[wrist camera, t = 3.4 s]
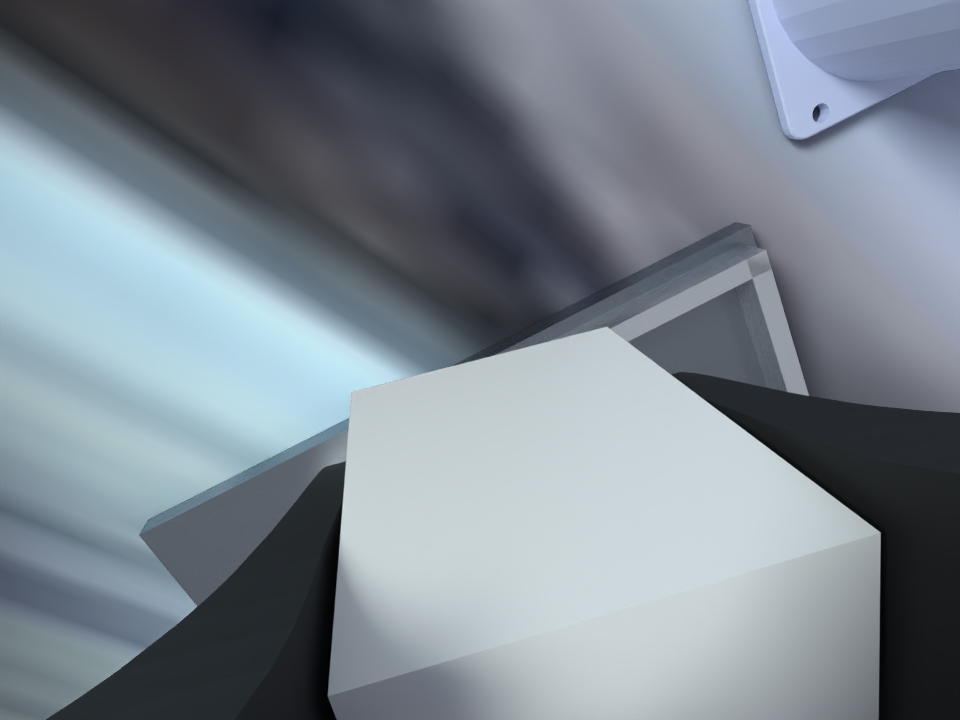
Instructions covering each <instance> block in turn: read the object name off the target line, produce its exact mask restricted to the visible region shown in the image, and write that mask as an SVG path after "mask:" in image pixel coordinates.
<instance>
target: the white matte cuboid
mask: <svg viewBox="0 0 960 720" xmlns="http://www.w3.org/2000/svg"><path fill="white" fill-rule="evenodd" d="M880 550H881V532H879V531H878V530H877V529H875V528H874V527H873V526H871V525H870V524H869V523H867V522H866V521H865V520H863V519H862V518H861V517H859V516H858V515H857V514H855V513H854V512H853V511H851V510H850V509H849V508H847V507H846V506H845V505H843V504H842V503H841V502H839V501H838V500H837V499H835V498H834V497H833V496H831V495H830V494H829V493H827V492H826V491H825V490H823V489H822V488H821V487H819V486H818V485H817V484H815V483H814V482H813V481H811V480H810V479H809V478H807V477H806V476H805V475H803V474H802V473H801V472H799V471H798V470H797V469H795V468H794V467H793V466H792V465H790V464H789V463H788V462H786V461H785V460H784V459H782V458H781V457H780V456H778V455H777V454H776V453H774V452H773V451H772V450H770V449H769V448H768V447H766V446H765V445H764V444H762V443H761V442H760V441H758V440H757V439H756V438H754V437H753V436H752V435H750V434H749V433H748V432H746V431H745V430H744V429H742V428H741V427H740V426H738V425H737V424H736V423H734V422H733V421H732V420H730V419H729V418H728V417H726V416H725V415H724V414H722V413H721V412H720V411H718V410H717V409H716V408H714V407H713V406H712V405H710V404H709V403H708V402H706V401H705V400H704V399H702V398H701V397H700V396H699V395H697V394H696V393H695V392H693V391H692V390H691V389H689V388H688V387H687V386H685V385H684V384H683V383H681V382H680V381H679V380H677V379H676V378H675V377H673V376H672V375H671V374H669V373H668V372H667V371H665V370H664V369H663V368H661V367H660V366H659V365H657V364H656V363H655V362H653V361H652V360H651V359H649V358H648V357H647V356H645V355H644V354H643V353H641V352H640V351H639V350H637V349H636V348H635V347H633V346H632V345H631V344H629V343H628V342H627V341H625V340H624V339H623V338H621V337H620V336H619V335H617V334H616V333H615V332H613V331H612V330H611V329H609V328H608V327H604V328H600V329H596V330H592V331H588V332H584V333H580V334H576V335H572V336H568V337H565V338H561V339H557V340H553V341H549V342H545V343H541V344H537V345H533V346H529V347H526V348H522V349H518V350H514V351H510V352H506V353H502V354H498V355H494V356H490V357H486V358H483V359H479V360H475V361H471V362H467V363H463V364H459V365H455V366H451V367H447V368H444V369H440V370H436V371H432V372H428V373H424V374H420V375H416V376H412V377H408V378H405V379H401V380H397V381H393V382H389V383H385V384H381V385H377V386H373V387H369V388H366V389H362V390H358V391H354V392H352V393H351V405H350V418H349V431H348V444H347V456H346V469H345V482H344V495H343V507H342V520H341V533H340V546H339V558H338V571H337V584H336V597H335V609H334V622H333V635H332V648H331V660H330V673H329V686H328V699H329V701H330V704H331V706H332V709H333V711H334V714H335V716H336V719H337V720H879V641H880Z"/></svg>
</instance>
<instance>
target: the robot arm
mask: <svg viewBox="0 0 960 720" xmlns="http://www.w3.org/2000/svg"><path fill="white" fill-rule="evenodd" d="M748 2H749V6H750V9H751V13H752V17H753V21H754V24H755V28H756V32H757V36H758V40H759V43H760V47H761V51H762V55H763V58H764V62H765V66H766V70H767V74H768V77H769V81H770V85H771V89H772V92H773V96H774V100H775V104H776V108H777V111H778V115H779V119H780V123H781V126H782V130H783V132H784V134H785V135H786V136H787V137H788V138H790V139H794V140H803V139H806V138H809V137H811V136H813V135H815V134H817V133H819V132H821V131H823V130H825V129H827V128H829V127H831V126H833V125H835V124H837V123H839V122H841V121H843V120H845V119H847V118H849V117H851V116H853V115H855V114H857V113H859V112H861V111H863V110H864V109H866V108H868V107H870V106H872V105H874V104H876V103H878V102H880V101H882V100H884V99H886V98H888V97H890V96H892V95H894V94H896V93H898V92H900V91H902V90H904V89H906V88H908V87H910V86H912V85H914V84H916V83H918V82H920V81H922V80H924V79H926V78H928V77H930V76H932V75H934V74H936V73H938V72H942V71H950V70H957V69H960V0H748ZM816 106H818V107H819V109H820V116H819V118H818V120H817V121H816V122H815V121H814V119H813V117H812V112H813V110H814V108H815V107H816ZM671 375H672V376H673V377H675V378H676V379H677V380H679V381H680V382H681V383H683V384H684V385H685V386H687V387H688V388H689V389H691V390H692V391H693V392H695V393H696V394H697V395H699V396H700V397H701V398H702V399H704V400H705V401H706V402H708V403H709V404H710V405H712V406H713V407H714V408H716V409H717V410H718V411H720V412H721V413H722V414H724V415H725V416H726V417H728V418H729V419H730V420H732V421H733V422H734V423H736V424H737V425H738V426H740V427H741V428H742V429H744V430H745V431H746V432H748V433H749V434H750V435H752V436H753V437H754V438H756V439H757V440H758V441H760V442H761V443H762V444H764V445H765V446H766V447H768V448H769V449H770V450H772V451H773V452H774V453H776V454H777V455H778V456H780V457H781V458H782V459H784V460H785V461H786V462H788V463H789V464H790V465H792V466H793V467H794V468H795V469H797V470H798V471H799V472H801V473H802V474H803V475H805V476H806V477H807V478H809V479H810V480H811V481H813V482H814V483H815V484H817V485H818V486H819V487H821V488H822V489H823V490H825V491H826V492H827V493H829V494H830V495H831V496H833V497H834V498H835V499H837V500H838V501H839V502H841V503H842V504H843V505H845V506H846V507H847V508H849V509H850V510H851V511H853V512H854V513H855V514H857V515H858V516H859V517H861V518H862V519H863V520H865V521H866V522H867V523H869V524H870V525H871V526H873V527H874V528H875V529H877V530H878V531H879V532H881V550H880V641H879V720H960V413H950V412H933V411H921V410H910V409H900V408H889V407H879V406H871V405H863V404H855V403H849V402H842V401H836V400H830V399H824V398H818V397H812V396H806V395H801V394H796V393H791V392H786V391H781V390H776V389H771V388H766V387H761V386H757V385H752V384H748V383H743V382H738V381H734V380H729V379H724V378H719V377H714V376H709V375H703V374H697V373H689V372H678V373H674V374H671ZM345 469H346V461H345V462H341V463H337V464H333V465H330V466H326V467H324V468H323V469H322V470H321V471H320V472H319V473H318V474H317V475H316V477H315V478H314V479H313V480H312V481H311V483H310V484H309V485H308V486H307V488H306V489H305V490H304V492H303V493H302V494H301V495H300V497H299V498H298V499H297V500H296V502H295V503H294V504H293V505H292V507H291V508H290V509H289V510H288V512H287V513H286V514H285V515H284V516H283V518H282V519H281V520H280V521H279V523H278V524H277V525H276V526H275V528H274V529H273V530H272V531H271V532H270V533H269V534H268V535H267V537H266V538H265V539H264V540H263V541H262V542H261V543H260V544H259V545H258V547H257V548H256V549H255V550H254V551H253V552H252V553H251V554H250V555H249V556H248V558H247V559H246V560H245V561H244V562H243V563H242V564H241V565H240V566H239V567H238V569H237V570H236V571H235V572H234V573H233V574H232V575H231V576H230V577H229V578H228V579H227V580H226V581H225V582H224V583H223V584H222V585H221V586H220V587H218V588H217V589H216V590H215V591H214V592H213V593H212V594H211V595H210V596H209V597H208V598H207V599H206V600H204V601H203V602H202V603H201V604H200V605H199V606H198V607H197V608H196V609H194V610H193V611H192V612H191V613H190V614H189V615H188V616H187V617H185V618H184V619H183V620H182V621H181V622H180V623H178V624H177V625H176V626H175V627H173V628H172V629H171V630H170V631H168V632H167V633H166V634H165V635H163V636H162V637H161V638H159V639H158V640H157V641H156V642H154V643H153V644H152V645H150V646H149V647H148V648H147V649H145V650H144V651H143V652H141V653H140V654H139V655H138V656H136V657H135V658H134V659H133V660H131V661H130V662H129V663H127V664H126V665H125V666H124V667H122V668H121V669H120V670H118V671H117V672H115V673H114V674H113V675H111V676H110V677H109V678H107V679H106V680H104V681H103V682H101V683H100V684H98V685H97V686H96V687H94V688H93V689H91V690H90V691H88V692H87V693H86V694H84V695H83V696H81V697H80V698H78V699H77V700H75V701H74V702H72V703H71V704H69V705H68V706H66V707H65V708H63V709H62V710H60V711H59V712H57V713H55V714H54V715H52V716H51V717H49V718H48V719H46V720H337V719H336V716H335V714H334V711H333V709H332V706H331V704H330V701H329V699H328V686H329V673H330V660H331V648H332V635H333V622H334V609H335V597H336V584H337V571H338V558H339V546H340V533H341V520H342V507H343V495H344V482H345Z"/></svg>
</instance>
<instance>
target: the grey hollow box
mask: <svg viewBox="0 0 960 720" xmlns="http://www.w3.org/2000/svg"><path fill="white" fill-rule="evenodd" d="M604 327H608V328H609V329H611V330H612V331H613V332H615V333H616V334H617V335H619V336H620V337H621V338H623V339H624V340H625V341H627V342H628V343H629V344H631V345H632V346H633V347H635V348H636V349H637V350H639V351H640V352H641V353H643V354H644V355H645V356H647V357H648V358H649V359H651V360H652V361H653V362H655V363H656V364H657V365H659V366H660V367H661V368H663V369H664V370H665V371H667V372H668V373H669V374H674V373H678V372H689V373H697V374H703V375H709V376H714V377H719V378H724V379H729V380H734V381H738V382H743V383H748V384H752V385H757V386H761V387H766V388H771V389H776V390H781V391H786V392H791V393H796V394H801V395H806V396H809V394H808V391H807V387H806V384H805V381H804V377H803V374H802V370H801V367H800V364H799V360H798V357H797V354H796V350H795V347H794V343H793V340H792V337H791V333H790V330H789V326H788V323H787V320H786V316H785V313H784V309H783V306H782V303H781V299H780V296H779V292H778V289H777V286H776V282H775V279H774V275H773V272H772V269H771V265H770V262H769V258H768V255H767V252H766V250H765V249H761V248H757V245H756V242H755V239H754V235H753V232H752V229H751V225H747V224H742V223H737V222H735V223H733V224H731V225H729V226H727V227H725V228H723V229H722V230H720V231H718V232H716V233H714V234H712V235H710V236H708V237H706V238H704V239H702V240H700V241H698V242H696V243H694V244H692V245H690V246H688V247H686V248H684V249H682V250H680V251H678V252H676V253H674V254H672V255H670V256H668V257H666V258H664V259H662V260H660V261H658V262H656V263H654V264H652V265H650V266H649V267H647V268H645V269H643V270H641V271H639V272H637V273H635V274H633V275H631V276H629V277H627V278H625V279H623V280H621V281H619V282H617V283H615V284H613V285H611V286H609V287H607V288H605V289H603V290H601V291H599V292H597V293H595V294H593V295H591V296H589V297H587V298H585V299H583V300H581V301H579V302H577V303H576V304H574V305H572V306H570V307H568V308H566V309H564V310H562V311H560V312H558V313H556V314H554V315H552V316H550V317H548V318H546V319H544V320H542V321H540V322H538V323H536V324H534V325H532V326H530V327H528V328H526V329H524V330H522V331H520V332H518V333H516V334H514V335H512V336H510V337H508V338H506V339H504V340H503V341H501V342H499V343H497V344H495V345H493V346H491V347H489V348H487V349H485V350H483V351H481V352H479V353H477V354H475V355H473V356H471V357H469V358H467V359H465V360H463V361H461V362H459V363H457V364H455V365H459V364H463V363H467V362H471V361H475V360H479V359H483V358H486V357H490V356H494V355H498V354H502V353H506V352H510V351H514V350H518V349H522V348H526V347H529V346H533V345H537V344H541V343H545V342H549V341H553V340H557V339H561V338H565V337H568V336H572V335H576V334H580V333H584V332H588V331H592V330H596V329H600V328H604ZM455 365H453V366H455ZM348 431H349V419H347V420H345V421H343V422H341V423H339V424H337V425H335V426H333V427H331V428H329V429H327V430H325V431H323V432H321V433H319V434H317V435H315V436H313V437H311V438H309V439H307V440H305V441H303V442H301V443H299V444H297V445H295V446H293V447H291V448H289V449H287V450H285V451H284V452H282V453H280V454H278V455H276V456H274V457H272V458H270V459H268V460H266V461H264V462H262V463H260V464H258V465H256V466H254V467H252V468H250V469H248V470H246V471H244V472H242V473H240V474H238V475H236V476H234V477H232V478H230V479H228V480H226V481H224V482H222V483H220V484H218V485H216V486H214V487H212V488H211V489H209V490H207V491H205V492H203V493H201V494H199V495H197V496H195V497H193V498H191V499H189V500H187V501H185V502H183V503H181V504H179V505H177V506H175V507H173V508H171V509H169V510H167V511H165V512H163V513H161V514H159V515H157V516H155V517H153V518H151V519H149V520H148V521H147V523H146V525H145V526H144V528H143V530H142V531H141V533H140V535H139V536H140V537H141V538H142V539H143V540H144V542H145V543H146V544H147V545H148V546H149V548H150V549H151V550H152V551H153V553H154V554H155V555H156V556H157V557H158V559H159V560H160V561H161V562H162V563H163V565H164V566H165V567H166V568H167V570H168V571H169V572H170V573H171V574H172V576H173V577H174V578H175V579H176V580H177V582H178V583H179V584H180V585H181V587H182V588H183V589H184V590H185V591H186V593H187V594H188V595H189V596H190V598H191V599H192V600H193V601H194V602H195V604H196V605H197V606H199V605H200V604H201V603H202V602H203V601H204V600H206V599H207V598H208V597H209V596H210V595H211V594H212V593H213V592H214V591H215V590H216V589H217V588H218V587H220V586H221V585H222V584H223V583H224V582H225V581H226V580H227V579H228V578H229V577H230V576H231V575H232V574H233V573H234V572H235V571H236V570H237V569H238V567H239V566H240V565H241V564H242V563H243V562H244V561H245V560H246V559H247V558H248V556H249V555H250V554H251V553H252V552H253V551H254V550H255V549H256V548H257V547H258V545H259V544H260V543H261V542H262V541H263V540H264V539H265V538H266V537H267V535H268V534H269V533H270V532H271V531H272V530H273V529H274V528H275V526H276V525H277V524H278V523H279V521H280V520H281V519H282V518H283V516H284V515H285V514H286V513H287V512H288V510H289V509H290V508H291V507H292V505H293V504H294V503H295V502H296V500H297V499H298V498H299V497H300V495H301V494H302V493H303V492H304V490H305V489H306V488H307V486H308V485H309V484H310V483H311V481H312V480H313V479H314V478H315V477H316V475H317V474H318V473H319V472H320V471H321V470H322V469H323V468H324V467H326V466H330V465H333V464H337V463H341V462H345V461H346V456H347V444H348Z"/></svg>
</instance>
